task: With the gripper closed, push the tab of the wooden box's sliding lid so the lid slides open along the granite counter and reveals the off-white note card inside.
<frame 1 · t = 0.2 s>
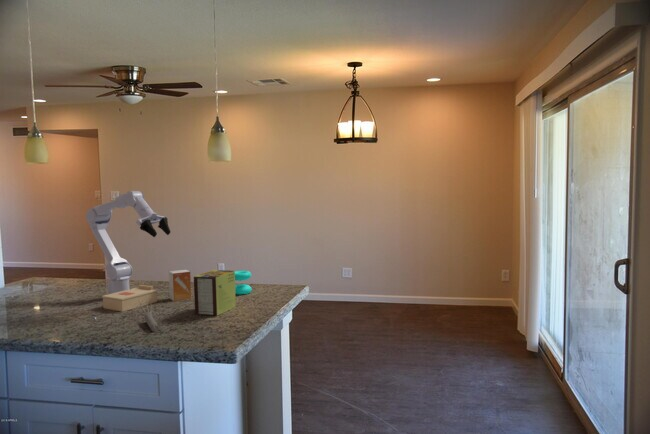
hand: (162, 234, 217), 31 cm above the worktop, tool tilted 45°, fingers open, 7 cm apart
kitchen whisk: (149, 322, 193), on the worktop
donuts: (241, 293, 240), on the worktop
note card: (126, 305, 216), point 1 cm above the worktop, touching wooden box
wooden box: (130, 306, 218), on the worktop
protein box: (215, 310, 208), on the worktop
lid: (130, 291, 217), point 6 cm above the worktop, slide at 0.0 cm
small box: (180, 300, 228), on the worktop
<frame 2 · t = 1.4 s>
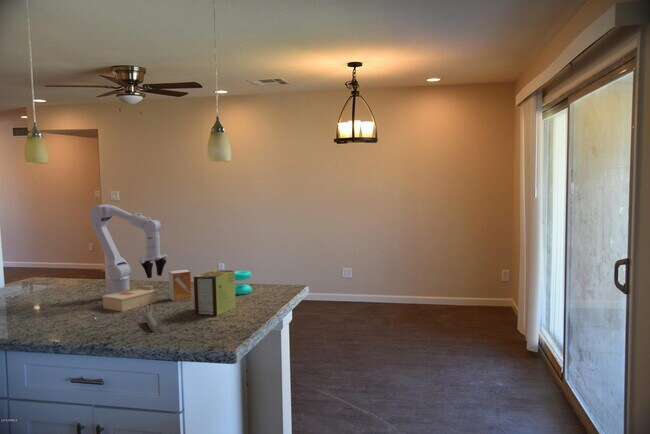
hand: (154, 276, 228), 10 cm above the worktop, tool pointing down, fingers open, 5 cm apart
nothing on the worktop moved.
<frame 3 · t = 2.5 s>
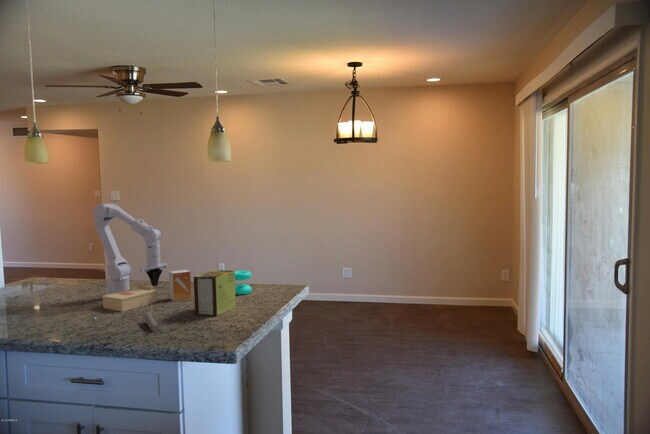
hand: (154, 285, 229), 6 cm above the worktop, tool pointing down, fingers closed
nothing on the worktop moved.
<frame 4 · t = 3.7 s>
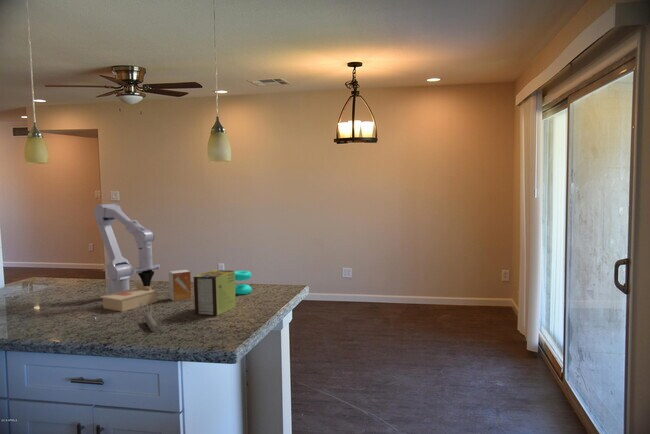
hand: (146, 287, 225), 6 cm above the worktop, tool pointing down, fingers closed
lid: (128, 292, 216), point 6 cm above the worktop, slide at 1.0 cm, touching gripper
everything else where it was.
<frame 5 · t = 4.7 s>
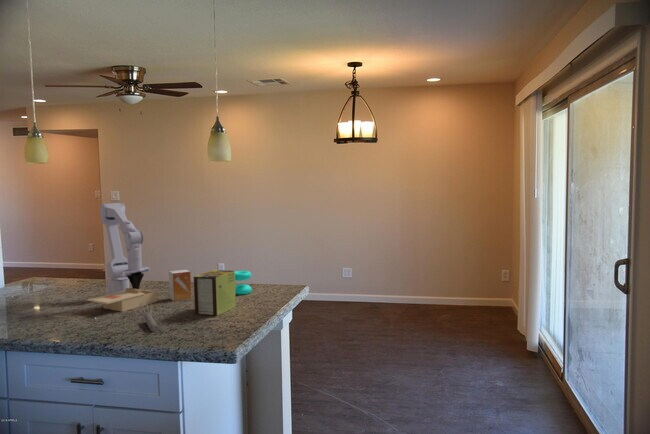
hand: (136, 290, 220), 6 cm above the worktop, tool pointing down, fingers closed
lid: (116, 295, 211), point 6 cm above the worktop, slide at 6.9 cm, touching gripper
everything else where it was.
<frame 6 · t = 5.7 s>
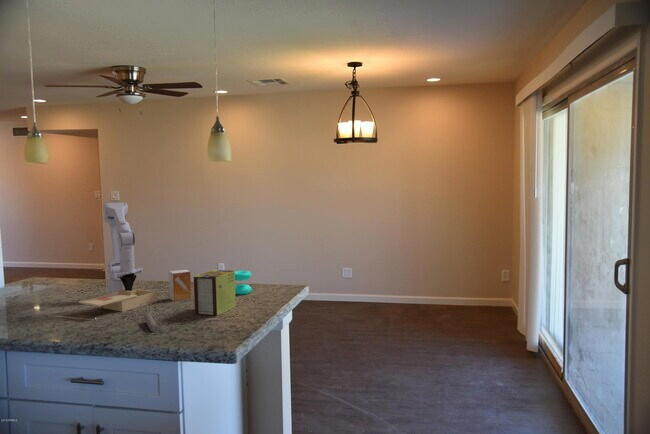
hand: (128, 292, 216), 6 cm above the worktop, tool pointing down, fingers closed
lid: (108, 297, 208), point 6 cm above the worktop, slide at 10.7 cm, touching gripper
everything else where it was.
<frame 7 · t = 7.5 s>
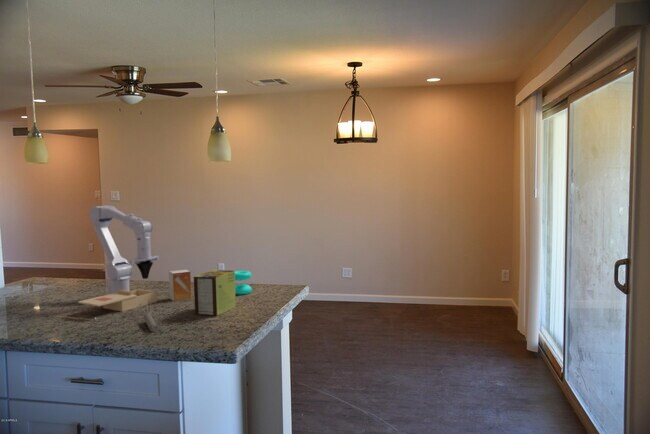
hand: (145, 278, 225), 10 cm above the worktop, tool pointing down, fingers closed
lid: (108, 297, 208), point 6 cm above the worktop, slide at 10.9 cm
everything else where it was.
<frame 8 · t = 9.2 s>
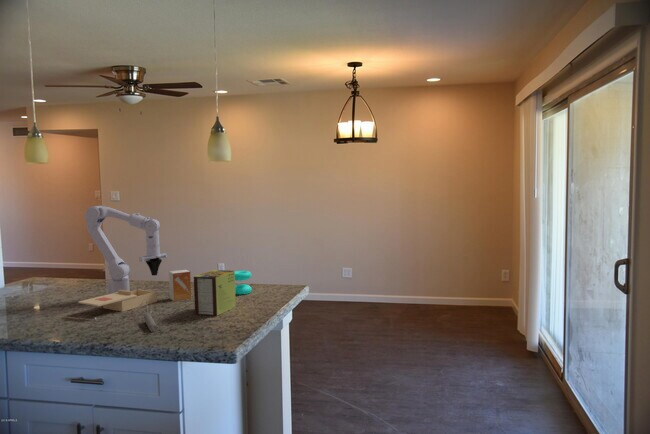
hand: (154, 275, 232), 10 cm above the worktop, tool pointing down, fingers closed
nothing on the worktop moved.
at the end: lid slide at 10.9 cm; lid touching nothing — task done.
